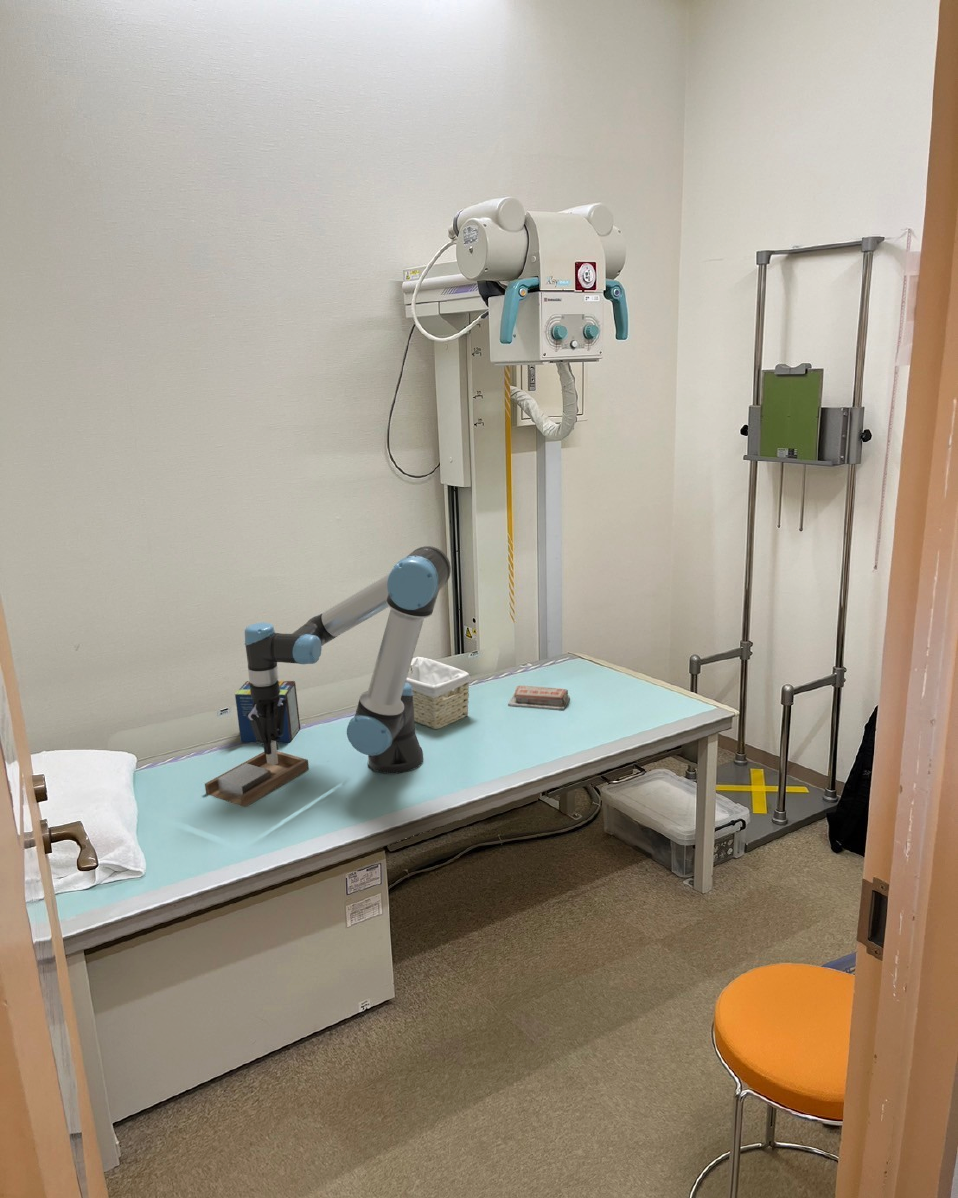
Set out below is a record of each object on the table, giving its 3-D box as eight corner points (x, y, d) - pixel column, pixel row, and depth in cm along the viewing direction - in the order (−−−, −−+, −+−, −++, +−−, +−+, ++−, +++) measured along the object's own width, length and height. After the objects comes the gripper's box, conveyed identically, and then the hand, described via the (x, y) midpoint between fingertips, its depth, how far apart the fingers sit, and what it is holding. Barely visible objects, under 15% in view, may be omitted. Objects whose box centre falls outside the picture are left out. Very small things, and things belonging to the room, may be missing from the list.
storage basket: (474, 716, 281) (472, 671, 277) (435, 733, 270) (432, 687, 266) (422, 697, 298) (419, 654, 293) (383, 713, 287) (380, 668, 282)
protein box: (251, 728, 279) (246, 680, 275) (301, 728, 278) (296, 680, 273) (239, 743, 269) (233, 694, 265) (290, 743, 268) (285, 694, 263)
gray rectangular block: (271, 784, 241) (270, 770, 240) (243, 800, 233) (241, 786, 232) (247, 776, 246) (245, 763, 245) (219, 792, 238) (217, 778, 237)
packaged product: (570, 685, 290) (563, 697, 281) (570, 699, 292) (563, 712, 283) (515, 681, 296) (507, 693, 286) (515, 695, 297) (507, 707, 288)
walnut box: (309, 773, 249) (307, 759, 248) (245, 811, 230) (244, 796, 229) (270, 761, 257) (269, 748, 255) (206, 797, 238) (204, 783, 237)
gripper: (271, 671, 248) (279, 750, 254) (235, 687, 237) (244, 769, 244) (292, 676, 244) (299, 756, 250) (256, 692, 233) (265, 776, 240)
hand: (272, 763), depth 247 cm, fingers closed
